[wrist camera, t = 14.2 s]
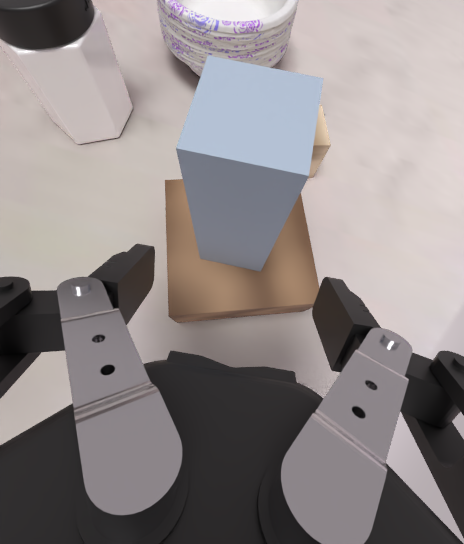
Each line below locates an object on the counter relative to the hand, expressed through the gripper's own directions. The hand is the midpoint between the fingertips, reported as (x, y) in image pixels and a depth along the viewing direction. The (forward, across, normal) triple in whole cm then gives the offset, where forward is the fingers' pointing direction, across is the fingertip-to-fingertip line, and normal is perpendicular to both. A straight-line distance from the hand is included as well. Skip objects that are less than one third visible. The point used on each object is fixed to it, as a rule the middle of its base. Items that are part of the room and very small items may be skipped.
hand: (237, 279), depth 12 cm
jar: (+23, -19, +5) cm, 31 cm away
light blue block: (+10, 0, -1) cm, 10 cm away
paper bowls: (+32, -6, +15) cm, 36 cm away
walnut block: (+14, 0, -5) cm, 14 cm away
